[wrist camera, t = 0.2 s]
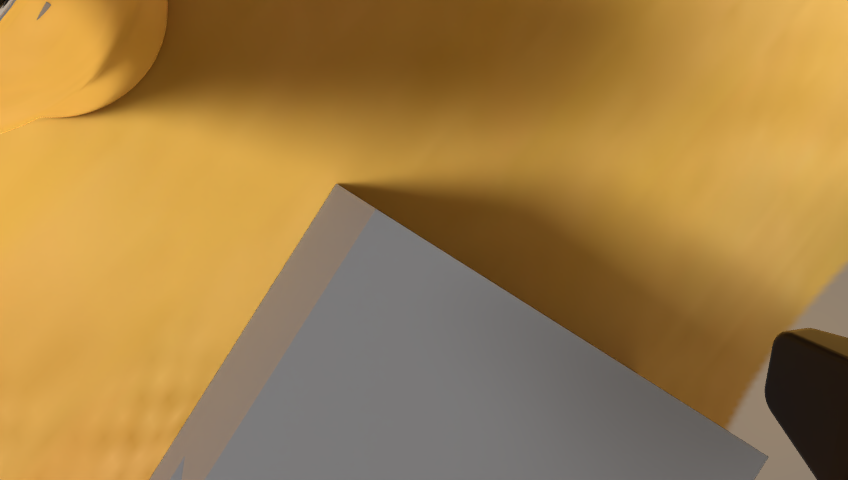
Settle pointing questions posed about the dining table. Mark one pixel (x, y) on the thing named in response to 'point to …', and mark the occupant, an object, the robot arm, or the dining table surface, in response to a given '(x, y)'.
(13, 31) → the beer glass
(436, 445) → the grey slotted box
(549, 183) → the dining table surface
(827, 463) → the robot arm
